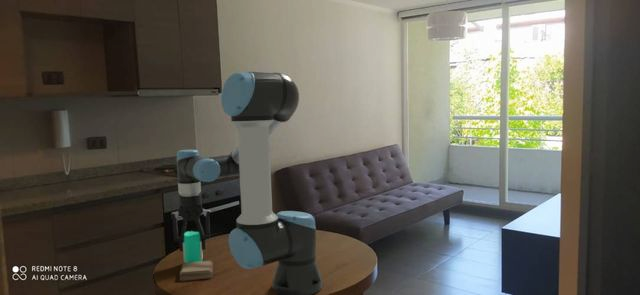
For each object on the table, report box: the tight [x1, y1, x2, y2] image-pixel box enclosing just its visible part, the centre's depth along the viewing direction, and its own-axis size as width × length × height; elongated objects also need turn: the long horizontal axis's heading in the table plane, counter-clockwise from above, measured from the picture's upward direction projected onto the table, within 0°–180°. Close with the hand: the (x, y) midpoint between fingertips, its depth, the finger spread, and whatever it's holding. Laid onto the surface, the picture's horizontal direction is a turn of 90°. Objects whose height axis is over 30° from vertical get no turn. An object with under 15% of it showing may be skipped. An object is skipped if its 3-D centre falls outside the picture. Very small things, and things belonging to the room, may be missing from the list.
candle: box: [183, 231, 203, 263], centre depth 161 cm, size 6×6×12 cm
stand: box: [179, 260, 214, 282], centre depth 152 cm, size 10×10×2 cm
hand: (193, 258), depth 162 cm, fingers closed on candle, 5 cm apart
